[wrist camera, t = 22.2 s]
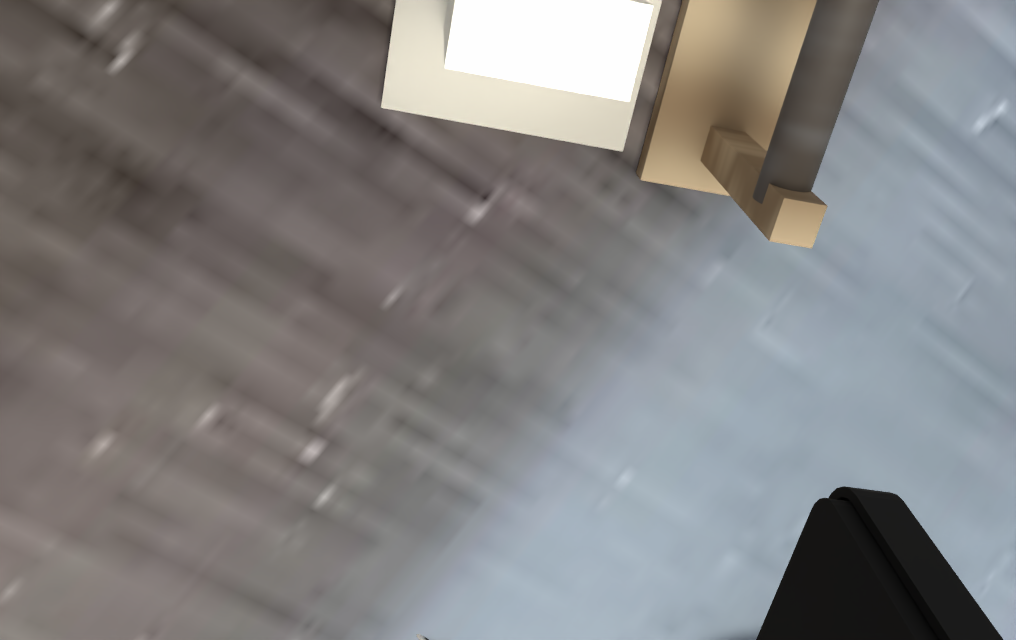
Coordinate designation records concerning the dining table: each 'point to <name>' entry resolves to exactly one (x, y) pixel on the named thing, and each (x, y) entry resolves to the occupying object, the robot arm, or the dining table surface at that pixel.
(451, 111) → the square tile
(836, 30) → the rail stand
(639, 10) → the notched grey block
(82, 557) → the dining table surface
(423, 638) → the sunglasses
